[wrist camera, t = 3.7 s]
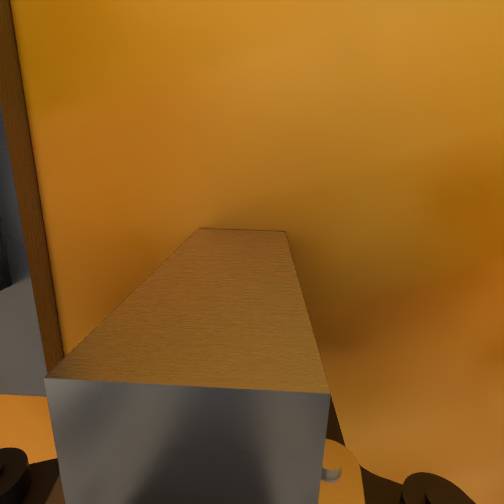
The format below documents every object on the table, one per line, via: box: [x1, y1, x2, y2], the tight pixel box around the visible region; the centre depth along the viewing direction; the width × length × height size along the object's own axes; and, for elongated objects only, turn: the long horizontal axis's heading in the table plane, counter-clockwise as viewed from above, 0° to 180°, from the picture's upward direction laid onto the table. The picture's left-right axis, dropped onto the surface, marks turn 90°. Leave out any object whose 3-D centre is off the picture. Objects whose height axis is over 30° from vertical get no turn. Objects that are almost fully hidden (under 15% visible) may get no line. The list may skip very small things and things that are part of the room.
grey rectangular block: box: [44, 228, 331, 504], centre depth 8 cm, size 3×9×8 cm, turn 178°
